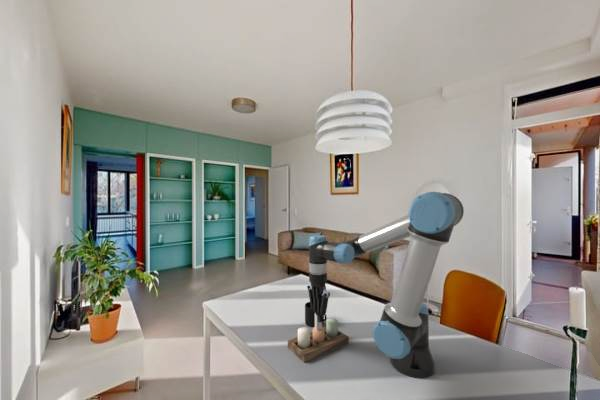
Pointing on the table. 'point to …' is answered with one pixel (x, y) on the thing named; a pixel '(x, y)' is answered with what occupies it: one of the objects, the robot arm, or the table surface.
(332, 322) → the pale green egg
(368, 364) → the table surface
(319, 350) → the wooden tray
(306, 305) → the mug
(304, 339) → the white egg
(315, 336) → the peach egg
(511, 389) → the table surface
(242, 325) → the table surface
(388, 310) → the robot arm
